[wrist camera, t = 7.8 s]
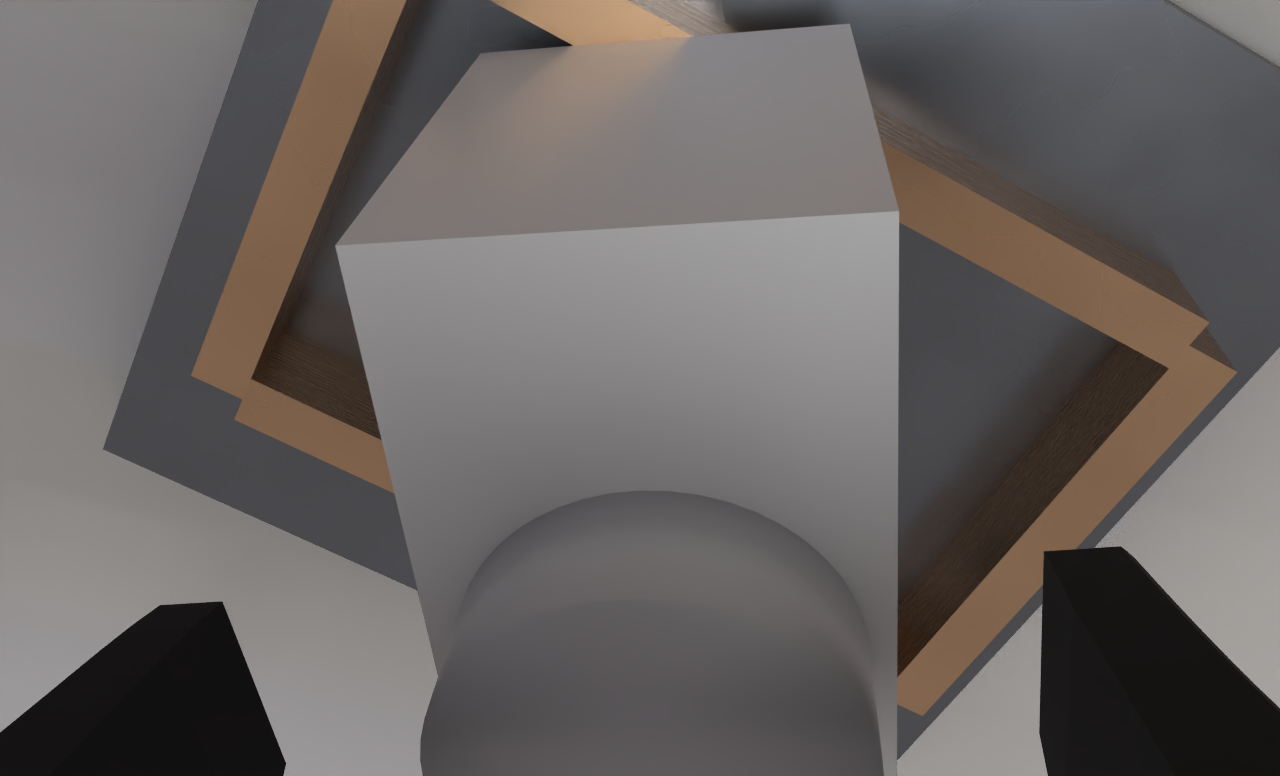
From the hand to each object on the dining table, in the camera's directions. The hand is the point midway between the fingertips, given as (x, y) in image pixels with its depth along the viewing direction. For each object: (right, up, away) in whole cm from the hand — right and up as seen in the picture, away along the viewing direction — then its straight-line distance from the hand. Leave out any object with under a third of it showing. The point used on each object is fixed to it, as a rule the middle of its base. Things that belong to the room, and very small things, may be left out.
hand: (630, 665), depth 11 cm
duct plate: (+1, +4, +9) cm, 9 cm away
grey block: (+1, +3, +6) cm, 7 cm away
